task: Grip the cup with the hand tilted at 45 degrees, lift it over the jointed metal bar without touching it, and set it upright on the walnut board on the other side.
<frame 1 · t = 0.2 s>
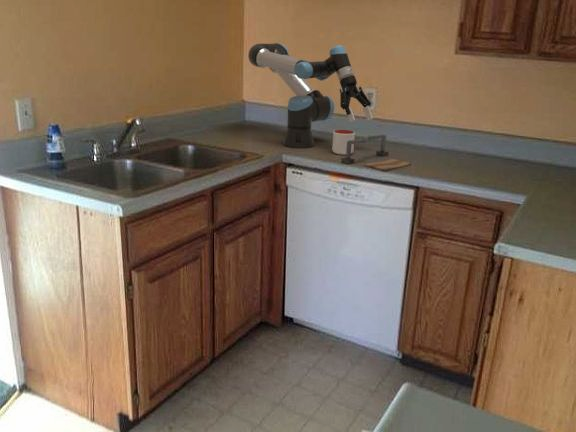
hand: (361, 120, 252), 15 cm above the worktop, tool tilted 30°, fingers open, 13 cm apart
cup: (342, 153, 256), on the worktop
jointed metal bar: (365, 158, 246), on the worktop
walnut board: (387, 165, 236), on the worktop
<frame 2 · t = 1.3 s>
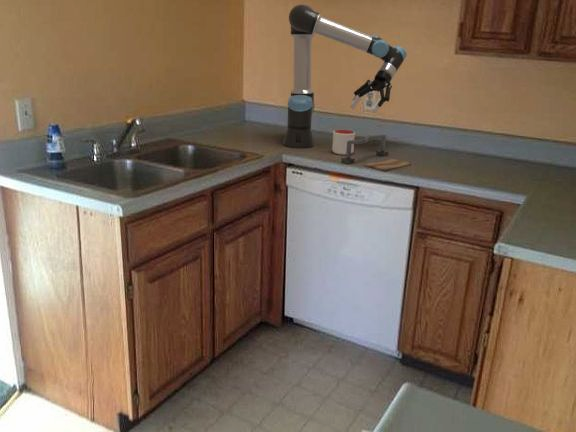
hand: (362, 109, 256), 19 cm above the worktop, tool tilted 45°, fingers open, 13 cm apart
nothing on the worktop moved.
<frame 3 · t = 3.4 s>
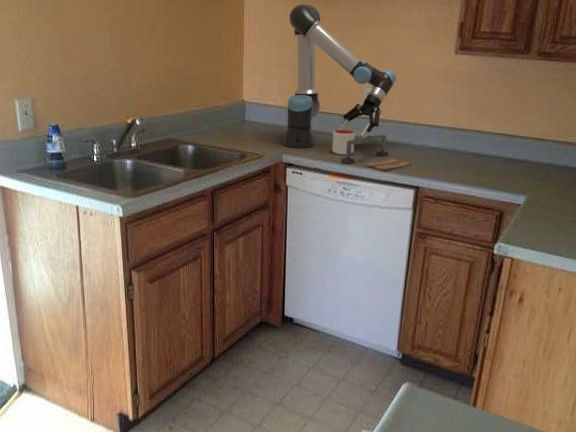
hand: (351, 134, 254), 9 cm above the worktop, tool tilted 45°, fingers open, 13 cm apart
nothing on the worktop moved.
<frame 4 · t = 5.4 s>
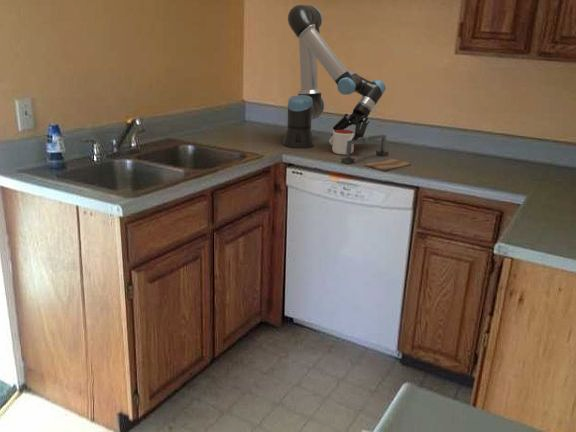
hand: (338, 145, 252), 4 cm above the worktop, tool tilted 45°, fingers closed on cup, 10 cm apart
cup: (342, 153, 256), on the worktop, touching gripper
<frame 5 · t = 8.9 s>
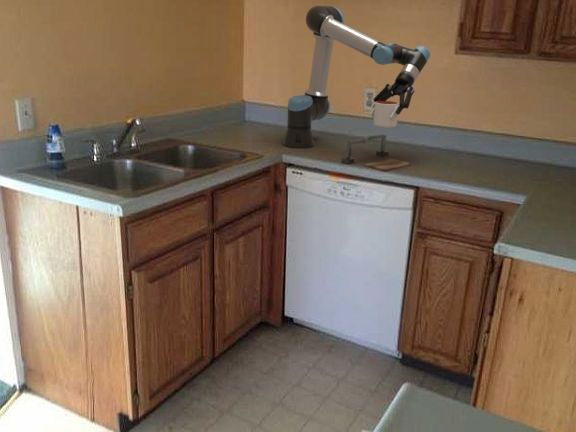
hand: (381, 117, 231), 20 cm above the worktop, tool tilted 45°, fingers closed on cup, 10 cm apart
cup: (385, 126, 234), point 16 cm above the worktop, touching gripper
when the fingers open (6 cm above the worktop, at t = 12.4 s): cup drops 1 cm, resting on walnut board.
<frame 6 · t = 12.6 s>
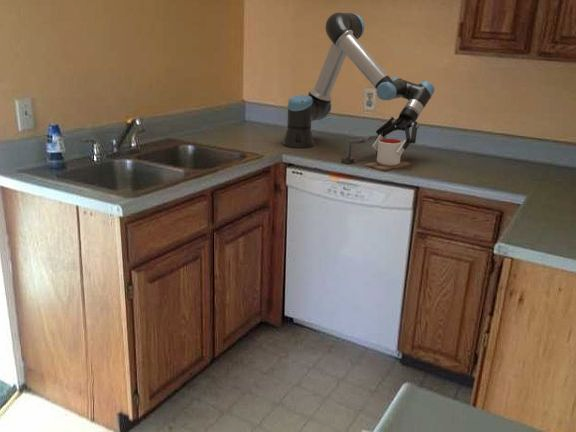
hand: (385, 151, 232), 7 cm above the worktop, tool tilted 45°, fingers open, 12 cm apart
cup: (387, 164, 236), point 1 cm above the worktop, touching walnut board
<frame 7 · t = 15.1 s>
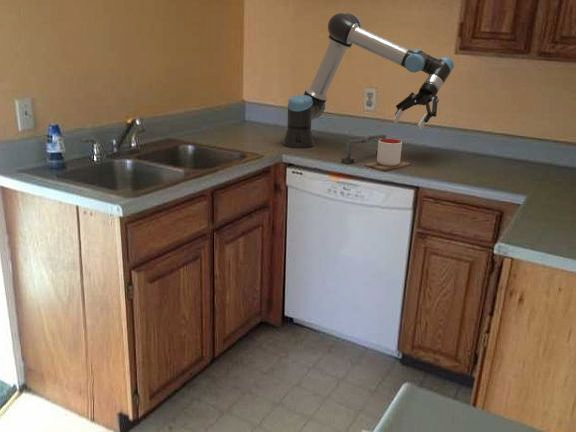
hand: (406, 124, 237), 17 cm above the worktop, tool tilted 45°, fingers open, 13 cm apart
nothing on the worktop moved.
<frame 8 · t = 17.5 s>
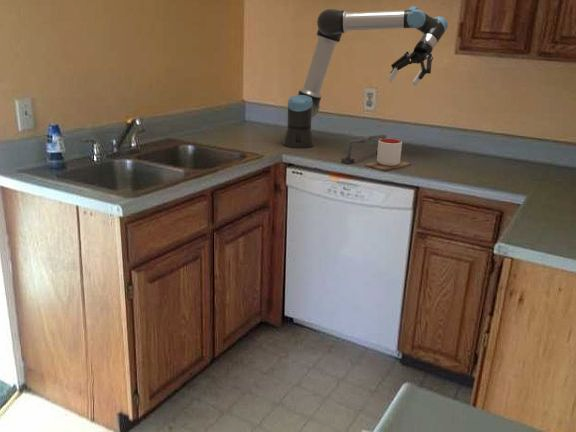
hand: (401, 82, 242), 34 cm above the worktop, tool tilted 45°, fingers open, 13 cm apart
nothing on the worktop moved.
at the end: cup inside the target area on the walnut board (0.1 cm from its centre), point 0.6 cm above the walnut board's base; cup tilted 0°; cup touching walnut board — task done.
